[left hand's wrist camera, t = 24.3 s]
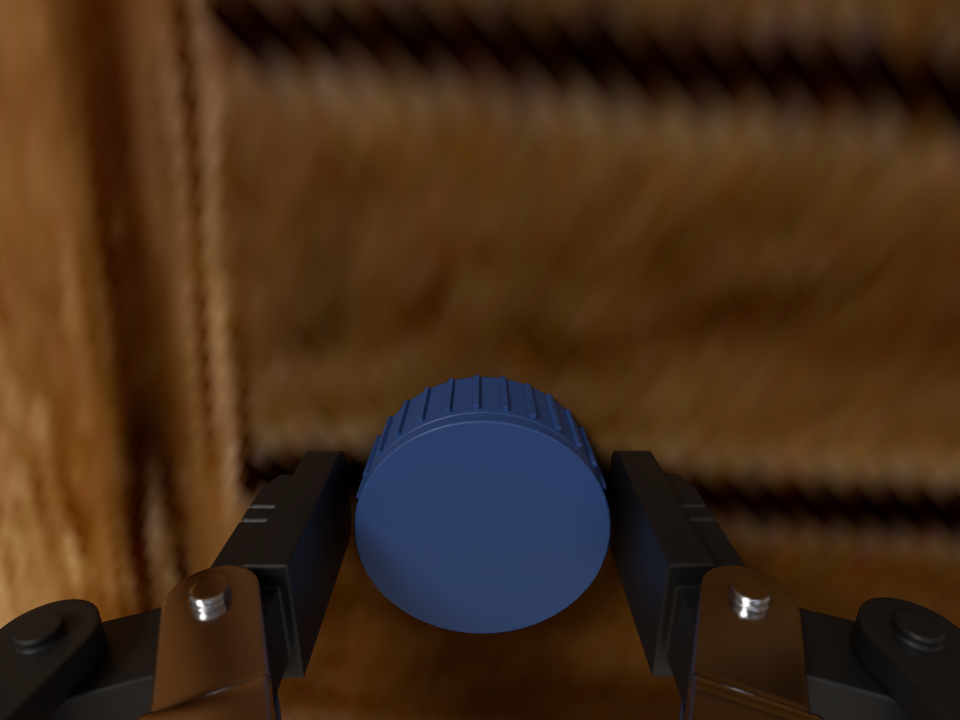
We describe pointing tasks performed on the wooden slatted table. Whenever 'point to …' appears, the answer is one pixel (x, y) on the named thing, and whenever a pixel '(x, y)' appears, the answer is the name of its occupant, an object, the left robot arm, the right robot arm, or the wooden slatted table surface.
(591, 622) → the wooden slatted table surface
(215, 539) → the wooden slatted table surface
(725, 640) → the left robot arm
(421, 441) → the lid
